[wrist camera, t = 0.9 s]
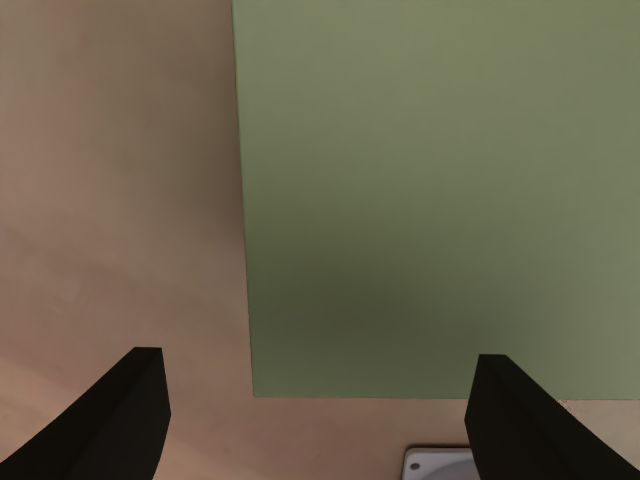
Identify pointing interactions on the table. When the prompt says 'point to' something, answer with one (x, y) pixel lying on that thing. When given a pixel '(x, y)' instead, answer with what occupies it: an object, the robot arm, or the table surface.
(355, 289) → the cabinet
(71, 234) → the table surface
